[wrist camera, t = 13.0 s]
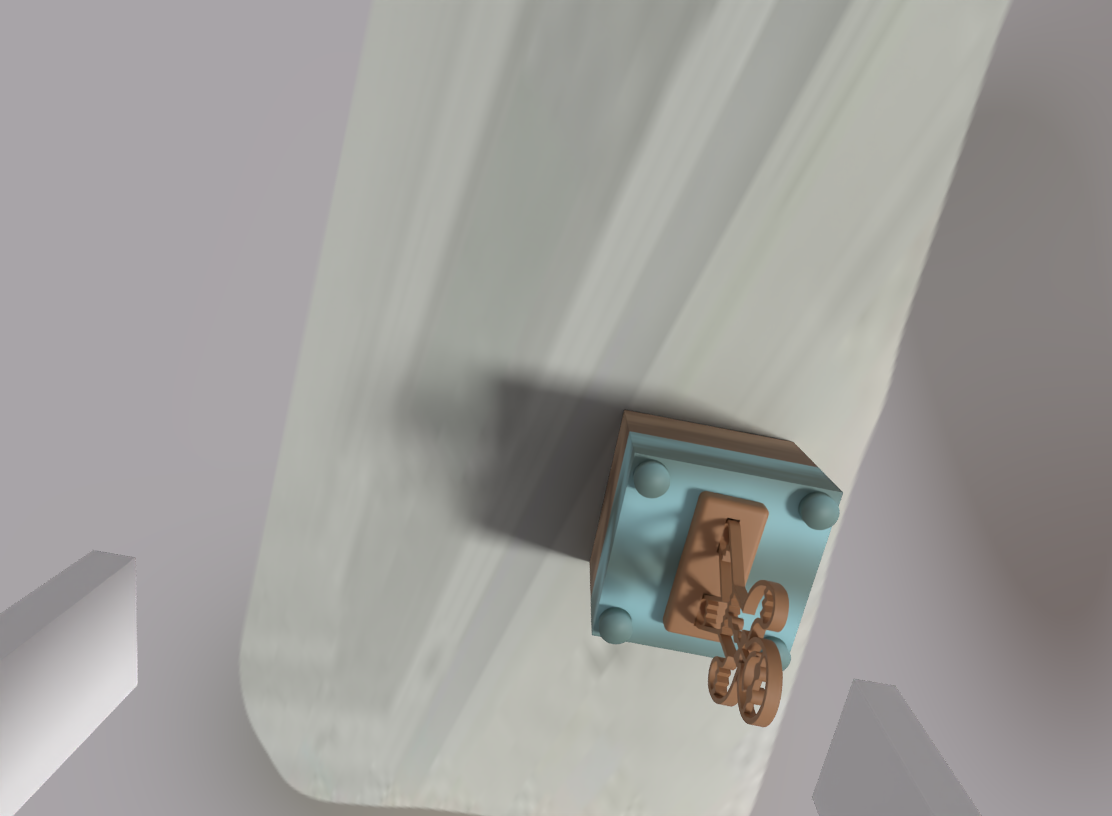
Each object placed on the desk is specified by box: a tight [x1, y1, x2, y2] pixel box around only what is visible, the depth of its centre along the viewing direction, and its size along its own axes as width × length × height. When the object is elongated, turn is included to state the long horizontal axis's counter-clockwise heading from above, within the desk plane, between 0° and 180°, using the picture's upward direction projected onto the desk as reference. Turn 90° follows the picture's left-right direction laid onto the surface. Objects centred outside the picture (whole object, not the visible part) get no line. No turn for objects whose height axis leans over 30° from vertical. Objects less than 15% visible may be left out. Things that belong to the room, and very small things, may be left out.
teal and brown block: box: [590, 410, 843, 671], centre depth 43 cm, size 12×12×10 cm
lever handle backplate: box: [663, 491, 789, 727], centre depth 33 cm, size 9×4×12 cm, turn 168°
